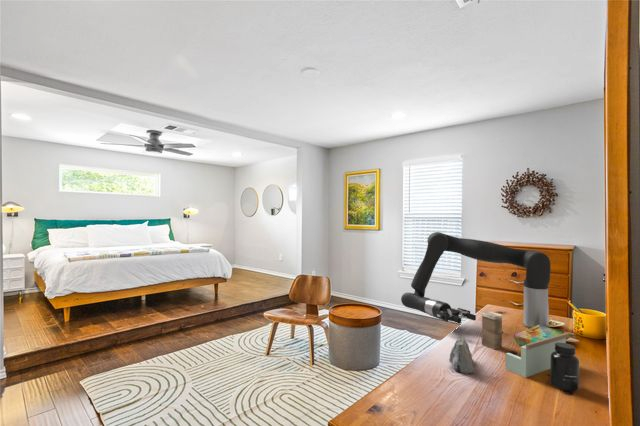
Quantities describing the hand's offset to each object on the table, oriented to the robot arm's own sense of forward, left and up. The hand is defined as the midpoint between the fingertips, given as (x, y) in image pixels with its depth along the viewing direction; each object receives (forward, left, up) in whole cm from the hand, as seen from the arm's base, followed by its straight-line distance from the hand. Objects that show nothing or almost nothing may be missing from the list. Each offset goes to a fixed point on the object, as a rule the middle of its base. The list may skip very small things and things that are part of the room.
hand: (468, 319), depth 137 cm
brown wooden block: (0, +11, -7) cm, 13 cm away
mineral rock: (+23, +17, -7) cm, 29 cm away
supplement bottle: (+8, +40, -7) cm, 41 cm away
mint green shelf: (+2, +28, -7) cm, 29 cm away
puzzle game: (-20, +18, -8) cm, 28 cm away
